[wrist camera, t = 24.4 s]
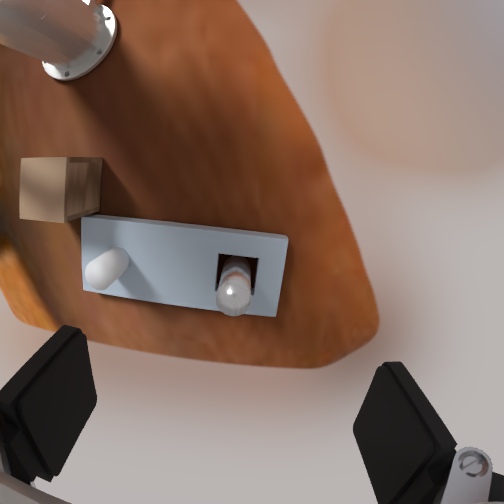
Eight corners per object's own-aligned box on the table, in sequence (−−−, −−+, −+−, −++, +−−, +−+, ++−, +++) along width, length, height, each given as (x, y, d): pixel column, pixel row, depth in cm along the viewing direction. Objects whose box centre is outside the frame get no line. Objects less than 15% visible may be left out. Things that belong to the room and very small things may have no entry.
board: (90, 213, 37) (56, 225, 29) (285, 235, 39) (296, 253, 30) (91, 283, 40) (62, 308, 32) (274, 308, 41) (280, 341, 33)
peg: (224, 253, 39) (217, 282, 29) (251, 257, 39) (253, 286, 30) (222, 279, 40) (214, 314, 30) (248, 282, 40) (248, 317, 30)
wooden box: (60, 157, 35) (21, 158, 26) (102, 157, 35) (66, 157, 27) (58, 207, 37) (19, 218, 28) (99, 210, 37) (64, 223, 29)
